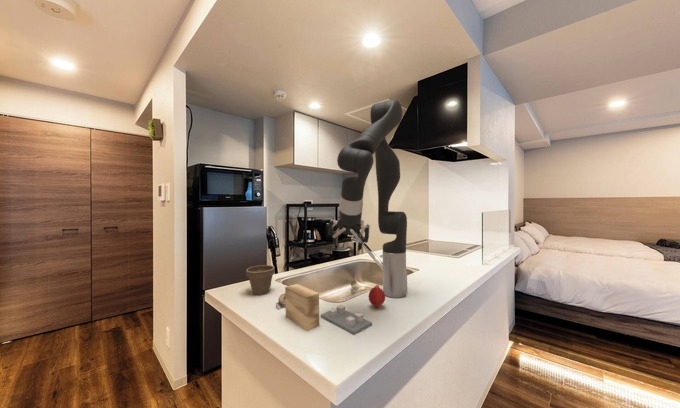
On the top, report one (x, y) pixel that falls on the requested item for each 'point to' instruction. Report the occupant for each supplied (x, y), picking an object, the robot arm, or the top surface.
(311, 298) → the brown rectangular block
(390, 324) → the top surface
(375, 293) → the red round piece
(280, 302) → the vase
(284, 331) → the top surface
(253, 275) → the flower pot
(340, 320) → the peg stand
